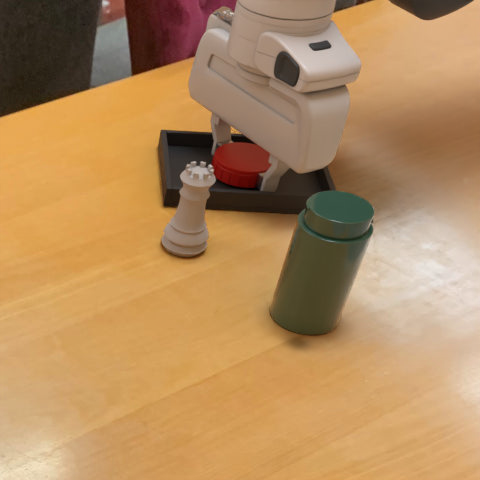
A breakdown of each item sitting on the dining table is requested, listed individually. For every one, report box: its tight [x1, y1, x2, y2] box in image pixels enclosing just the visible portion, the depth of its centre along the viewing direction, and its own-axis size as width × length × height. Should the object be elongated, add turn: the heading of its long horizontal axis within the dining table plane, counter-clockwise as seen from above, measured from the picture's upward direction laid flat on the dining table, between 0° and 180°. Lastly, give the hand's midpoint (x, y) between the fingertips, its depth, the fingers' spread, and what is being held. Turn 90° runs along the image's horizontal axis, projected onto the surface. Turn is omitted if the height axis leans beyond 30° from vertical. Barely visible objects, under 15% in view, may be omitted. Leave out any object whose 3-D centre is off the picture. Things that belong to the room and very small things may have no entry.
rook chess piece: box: [160, 161, 216, 258], centre depth 84 cm, size 4×4×8 cm
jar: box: [269, 190, 376, 336], centre depth 76 cm, size 6×6×10 cm
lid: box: [211, 142, 272, 188], centre depth 95 cm, size 7×7×2 cm
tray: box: [157, 129, 337, 215], centre depth 95 cm, size 17×13×2 cm
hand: (242, 173), depth 95 cm, fingers closed on lid, 6 cm apart
